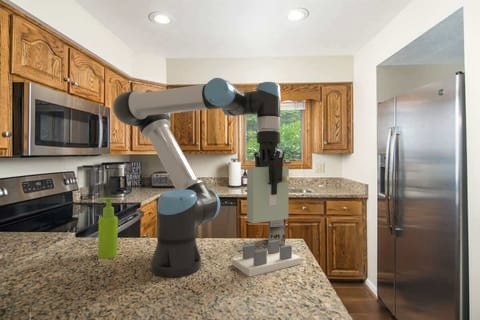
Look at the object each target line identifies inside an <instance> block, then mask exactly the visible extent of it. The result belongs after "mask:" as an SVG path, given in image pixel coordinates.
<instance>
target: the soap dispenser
mask: <svg viewBox="0 0 480 320" xmlns="http://www.w3.org/2000/svg"><path fill="white" fill-rule="evenodd" d="M114 200H115V198H114V197H103V198H100V199H97V200H96V202H99V203H102V202H105V206H104V207H102V208H103V209H102V217H99V218H98V242H97V243H98V245H97V247H98V249H97V251H98V256H97V257H98V258H99V259H102V260H103V259H104V260H107V259H113V258H114V257H117V256H118V231H119V229H118V227H119V226H118V225H119V218H118V216H116V215H115V207H113V206H112V201H114Z"/></svg>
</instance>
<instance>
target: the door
mask: <svg viewBox="0 0 480 320" xmlns="http://www.w3.org/2000/svg"><path fill="white" fill-rule="evenodd" d="M246 168H247V169H246V171H247V172H246V222H248V223H250V224H251V223H252V224H258V223H265V222H266V223H268V221H274V220H282V219H285V220H287V219H289V197H290V196H289V193H290V192H289V191H290V189H289V183H290V182H289V181H290V177H289V173H290V172H289V169H290V168H289V167H288V166H283V172H282V182H281V183H278V184H277V195H276V205H268V183H270V179H269V167H255V166H247V167H246ZM278 179H279V178H278ZM273 180H274V179H273Z"/></svg>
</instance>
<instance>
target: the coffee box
mask: <svg viewBox="0 0 480 320" xmlns="http://www.w3.org/2000/svg"><path fill="white" fill-rule="evenodd" d="M267 233H268V234H267V239H269V240H268V241H273V240H279V246H285V245H286V219H282V220H274V221H267Z"/></svg>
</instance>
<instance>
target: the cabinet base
mask: <svg viewBox="0 0 480 320" xmlns="http://www.w3.org/2000/svg"><path fill="white" fill-rule="evenodd" d="M292 249H293V247H292V245H291V244H285V245H279V240H273V241H269V240H268V242H267V249H264V248H263V249H260V250H256V244H254V243H251V244H246V245H242V256H240V257H239V256H238V257H234V258H232V263H231V264H232V266H233V267H235V268H236V269H237V270H239V271H240V272H242V273H243V274H245V275H246V276H248V278H250V277H255V276H258V275H263V274H266V273H267V274H268V273H270V272H274V271H278V270H282V269H283V270H284V269H286V268H290V267H294V266H299V265H301V264H302V257H301V256H299V255H296V254H294V253H293V252H292V251H293V250H292Z"/></svg>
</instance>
